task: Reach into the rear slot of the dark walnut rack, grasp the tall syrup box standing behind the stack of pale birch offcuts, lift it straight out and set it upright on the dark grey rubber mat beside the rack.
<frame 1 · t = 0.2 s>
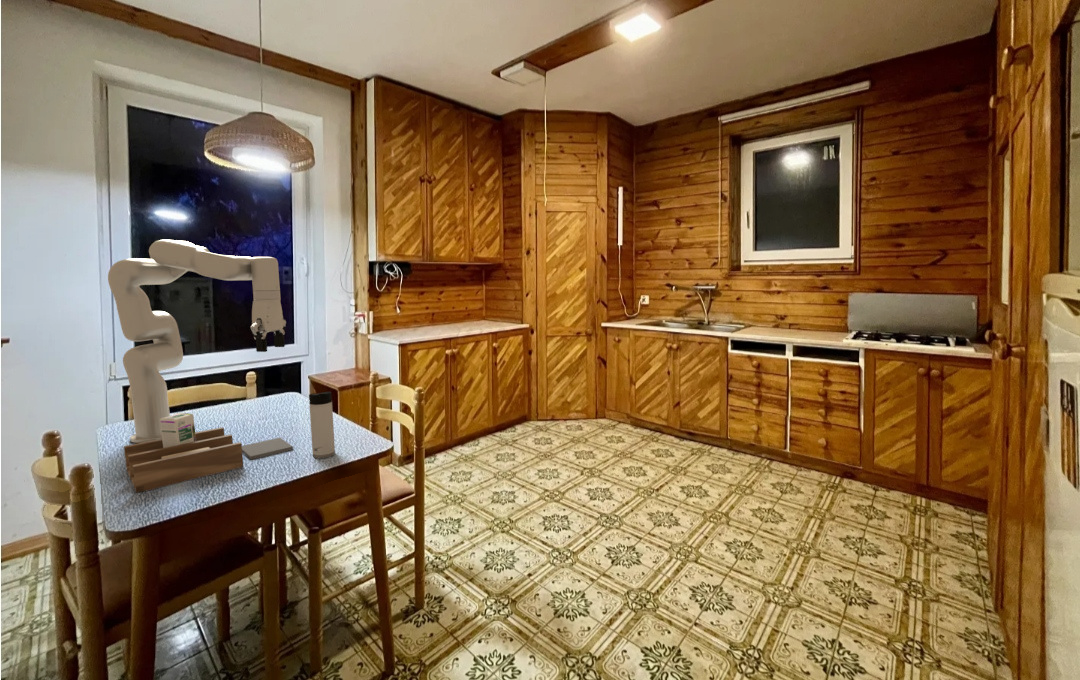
hand: (271, 349, 157), 31 cm above the table, tool pointing down, fingers open, 9 cm apart
syrup box: (182, 464, 143), on the table
travel mug: (324, 455, 149), on the table
walnut rack: (185, 468, 139), on the table
rubber mat: (266, 449, 154), on the table
lower offcut: (189, 474, 136), on the table, touching upper offcut
upper offcut: (188, 464, 136), point 2 cm above the table, touching lower offcut
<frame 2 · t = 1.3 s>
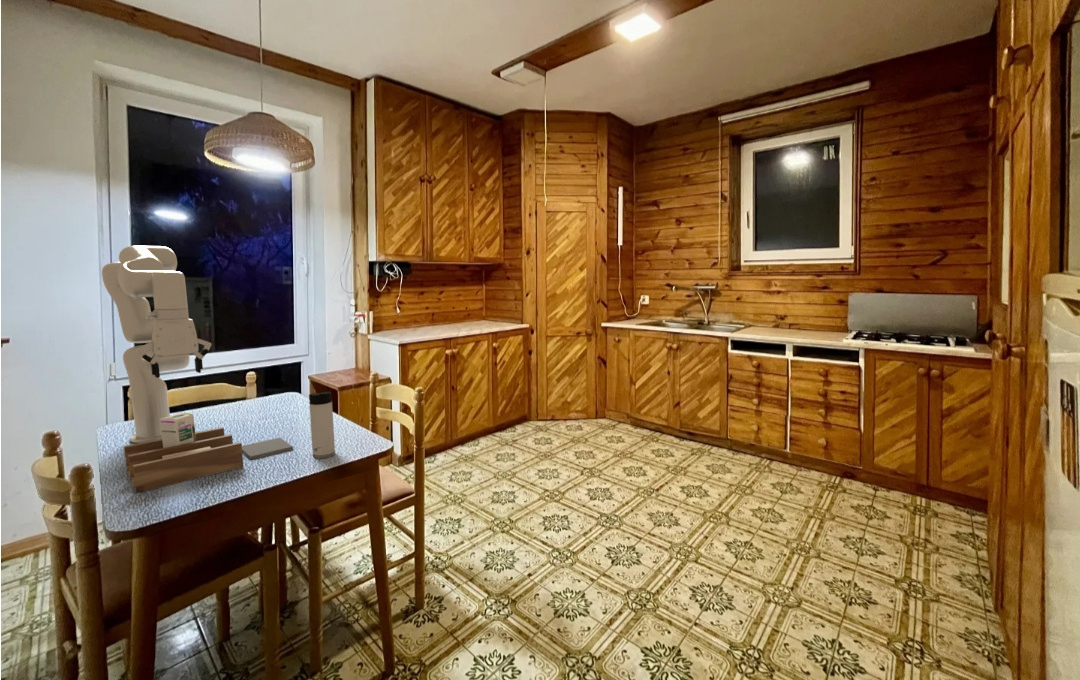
hand: (178, 374, 140), 26 cm above the table, tool pointing down, fingers open, 9 cm apart
lower offcut: (189, 474, 136), on the table
upper offcut: (189, 464, 136), point 3 cm above the table
everything else where it was.
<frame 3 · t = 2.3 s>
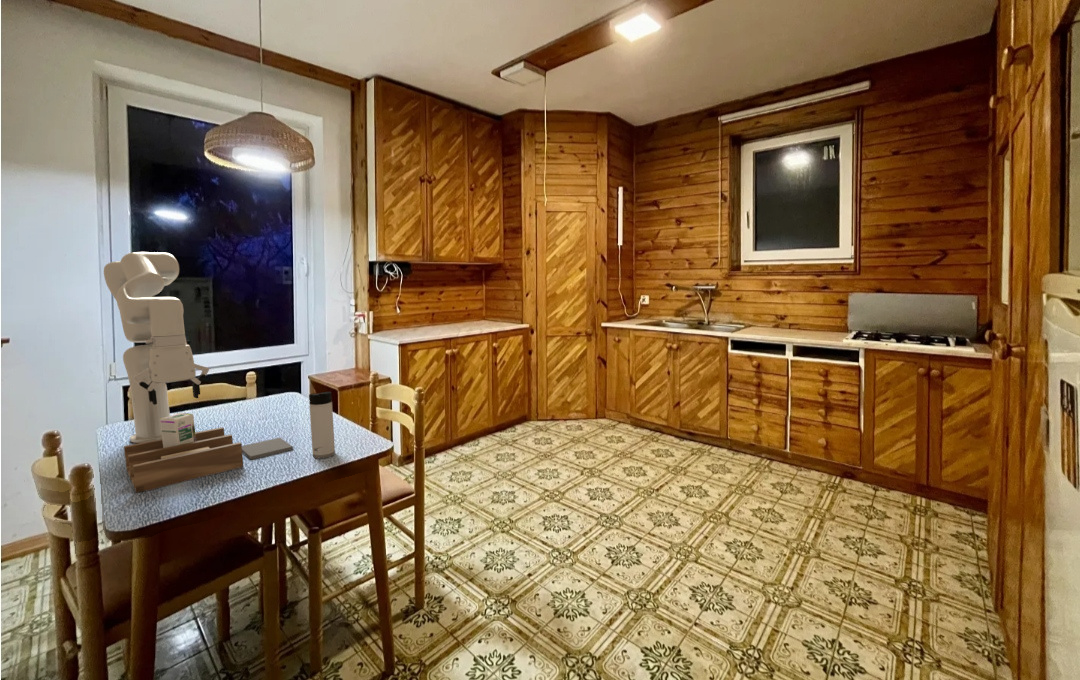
hand: (175, 400, 140), 19 cm above the table, tool pointing down, fingers open, 9 cm apart
lower offcut: (189, 474, 136), on the table, touching upper offcut
upper offcut: (188, 464, 136), point 3 cm above the table, touching lower offcut
everything else where it was.
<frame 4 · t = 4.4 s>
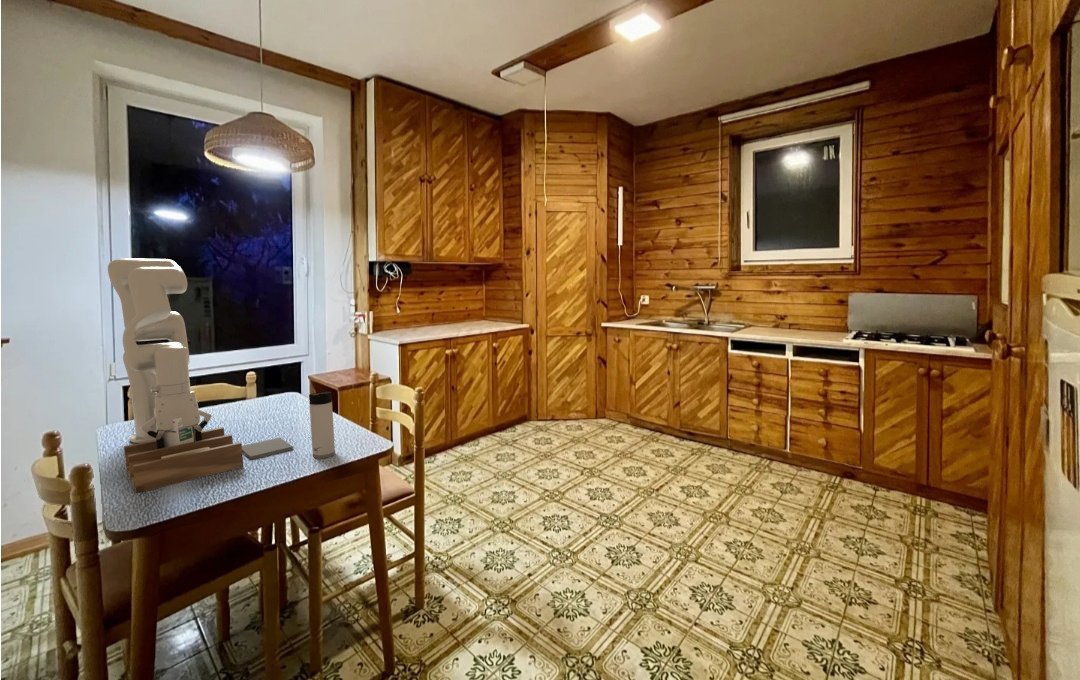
hand: (180, 447, 142), 5 cm above the table, tool pointing down, fingers closed on syrup box, 7 cm apart
syrup box: (182, 464, 143), on the table, touching gripper
everything else where it was.
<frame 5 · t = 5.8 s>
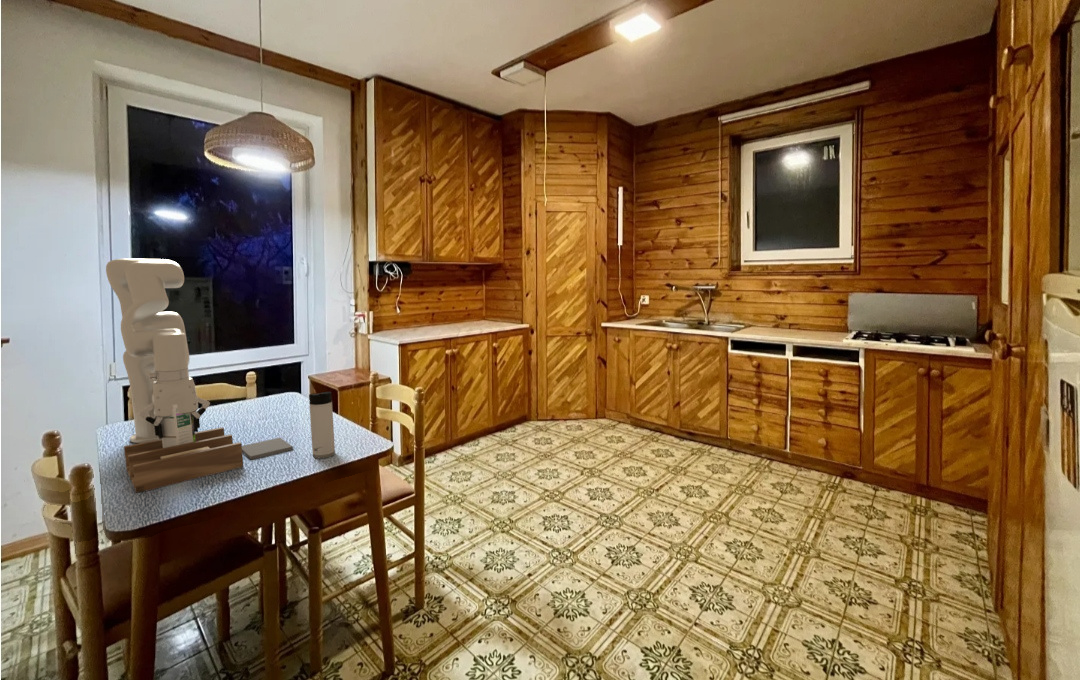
hand: (178, 433, 142), 9 cm above the table, tool pointing down, fingers closed on syrup box, 7 cm apart
syrup box: (179, 451, 142), point 4 cm above the table, touching gripper
everything else where it was.
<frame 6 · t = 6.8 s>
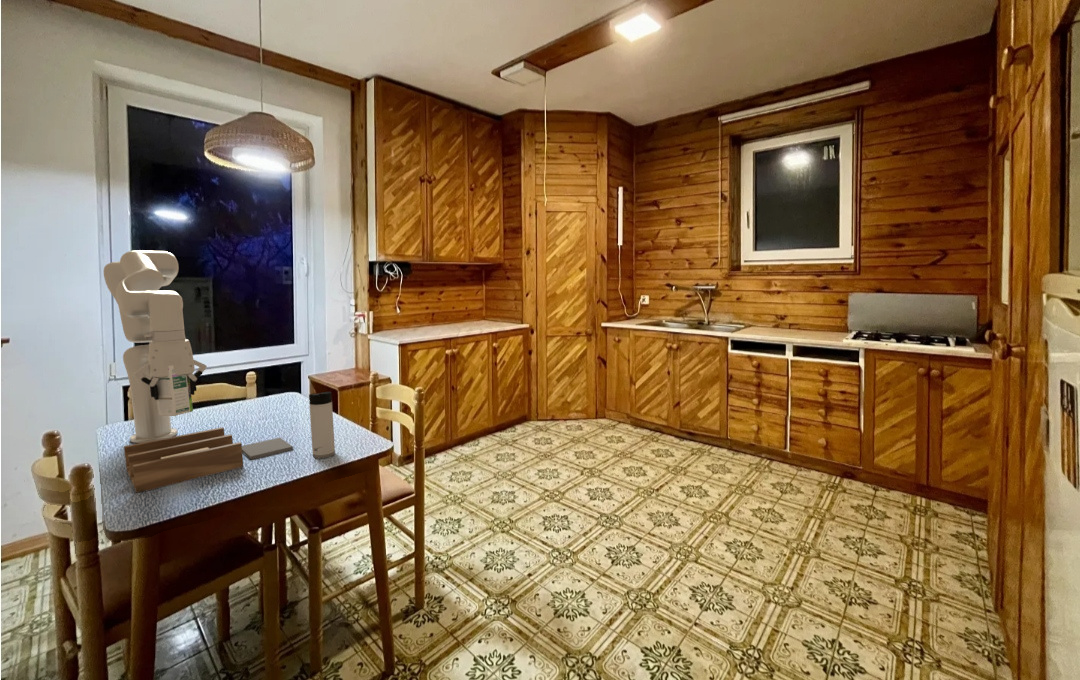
hand: (174, 396, 140), 20 cm above the table, tool pointing down, fingers closed on syrup box, 7 cm apart
syrup box: (176, 414, 141), point 15 cm above the table, touching gripper
everything else where it was.
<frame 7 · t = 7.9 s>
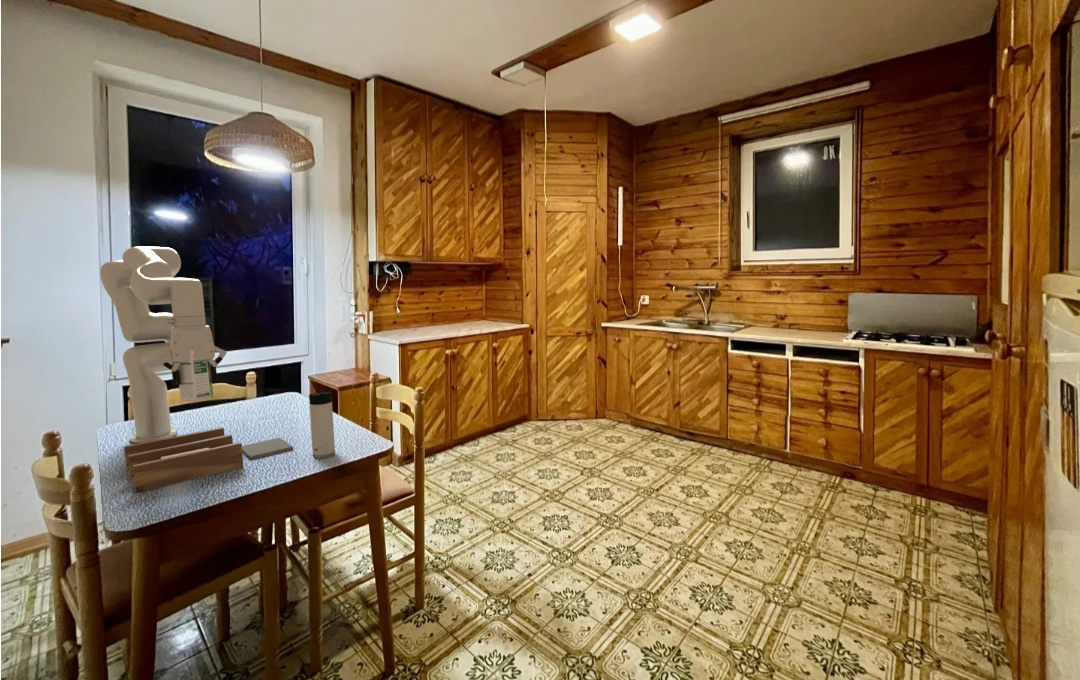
hand: (195, 381, 142), 24 cm above the table, tool pointing down, fingers closed on syrup box, 7 cm apart
syrup box: (197, 399, 142), point 19 cm above the table, touching gripper
everything else where it was.
when the fingers open (7 cm above the table, at t = 13.0 s): syrup box drops 1 cm, resting on rubber mat.
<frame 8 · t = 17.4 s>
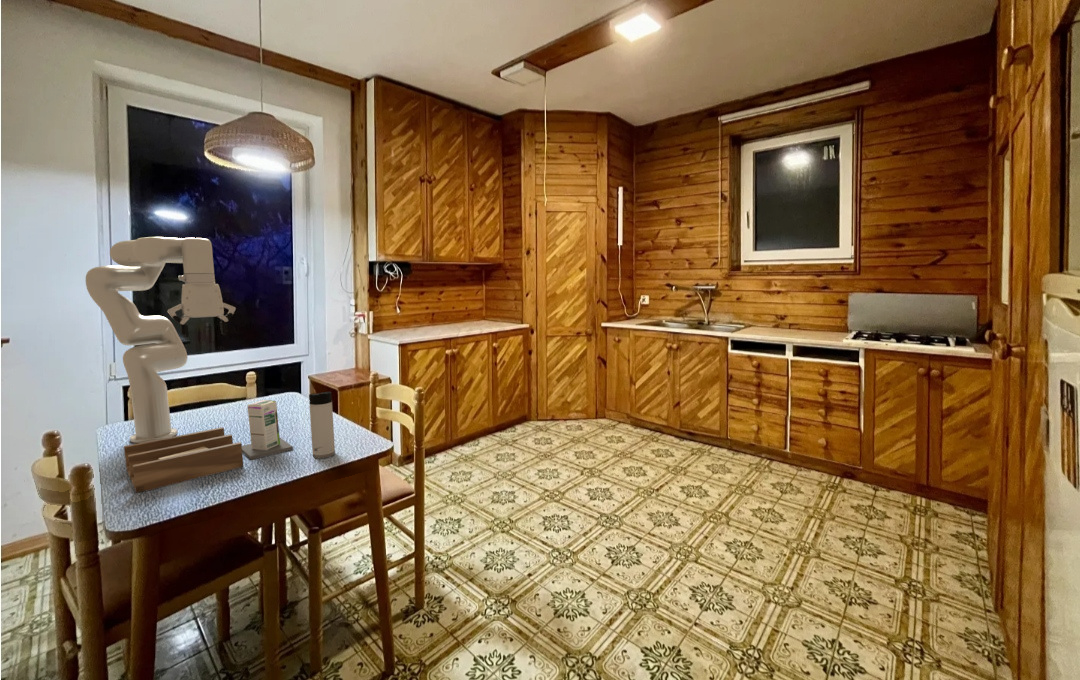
hand: (205, 335, 150), 36 cm above the table, tool pointing down, fingers open, 9 cm apart
syrup box: (265, 447, 154), point 1 cm above the table, touching rubber mat
lower offcut: (189, 474, 137), on the table, touching upper offcut
at the end: syrup box inside the target area on the rubber mat (0.5 cm from its centre), point 0.8 cm above the rubber mat's base; syrup box tilted 0°; the gripper is holding nothing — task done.
